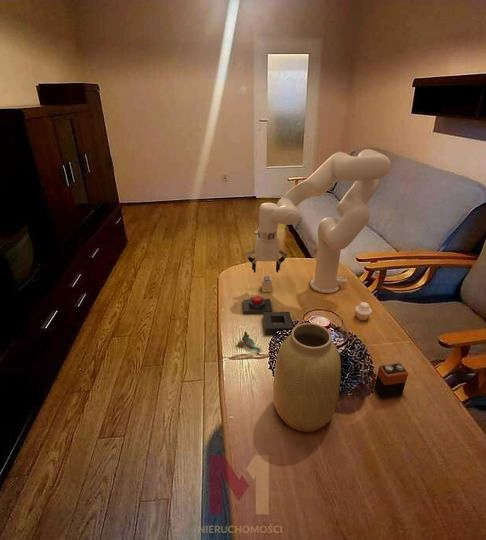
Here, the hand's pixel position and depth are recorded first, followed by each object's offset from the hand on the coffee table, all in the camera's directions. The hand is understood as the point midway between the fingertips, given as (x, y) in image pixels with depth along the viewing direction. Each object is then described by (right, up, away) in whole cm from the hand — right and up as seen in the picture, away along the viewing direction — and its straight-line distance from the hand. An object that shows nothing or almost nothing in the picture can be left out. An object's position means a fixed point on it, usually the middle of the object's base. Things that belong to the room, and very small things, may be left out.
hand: (265, 271), depth 148 cm
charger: (+1, -8, +5) cm, 9 cm away
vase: (+7, -39, -51) cm, 65 cm away
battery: (+33, -36, -46) cm, 67 cm away
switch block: (-4, -15, -8) cm, 17 cm away
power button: (-4, -12, -9) cm, 16 cm away
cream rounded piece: (+36, -18, -14) cm, 43 cm away
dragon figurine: (-8, -26, -28) cm, 39 cm away
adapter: (+3, -21, -18) cm, 28 cm away
